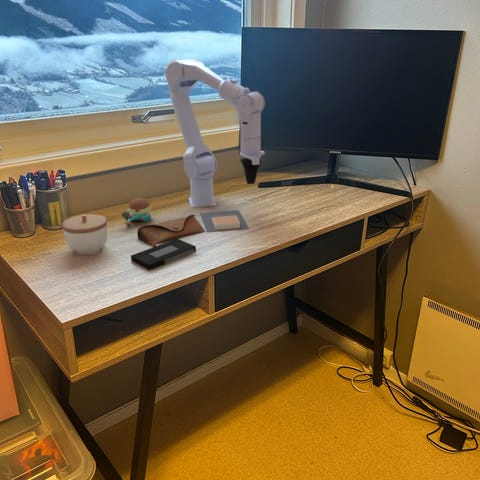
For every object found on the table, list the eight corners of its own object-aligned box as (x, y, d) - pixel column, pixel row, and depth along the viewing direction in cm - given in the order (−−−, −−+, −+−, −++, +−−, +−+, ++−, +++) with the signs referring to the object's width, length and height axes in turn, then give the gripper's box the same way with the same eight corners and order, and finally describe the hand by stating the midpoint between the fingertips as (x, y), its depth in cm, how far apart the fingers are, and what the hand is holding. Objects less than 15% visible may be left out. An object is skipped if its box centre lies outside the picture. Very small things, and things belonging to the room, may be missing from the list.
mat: (200, 214, 146) (199, 212, 146) (238, 211, 148) (238, 210, 148) (206, 233, 132) (206, 232, 131) (249, 230, 134) (249, 228, 133)
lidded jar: (72, 242, 127) (67, 208, 123) (113, 240, 128) (109, 207, 124) (61, 259, 117) (55, 223, 114) (106, 257, 118) (101, 222, 114)
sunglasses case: (151, 248, 123) (143, 223, 123) (142, 253, 129) (134, 229, 129) (210, 231, 133) (202, 209, 133) (199, 237, 138) (192, 215, 139)
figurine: (117, 224, 142) (111, 204, 139) (147, 211, 147) (141, 191, 144) (128, 232, 137) (122, 211, 134) (158, 218, 142) (153, 198, 138)
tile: (211, 217, 138) (215, 224, 132) (235, 215, 139) (239, 222, 133) (212, 222, 138) (215, 229, 133) (235, 220, 139) (239, 227, 134)
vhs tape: (196, 253, 121) (196, 246, 120) (149, 272, 111) (149, 264, 111) (177, 245, 126) (177, 238, 125) (131, 262, 116) (130, 255, 115)
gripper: (270, 141, 130) (270, 189, 135) (258, 131, 143) (258, 175, 148) (245, 142, 129) (245, 191, 134) (235, 132, 142) (235, 177, 147)
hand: (250, 183), depth 141 cm, fingers closed
